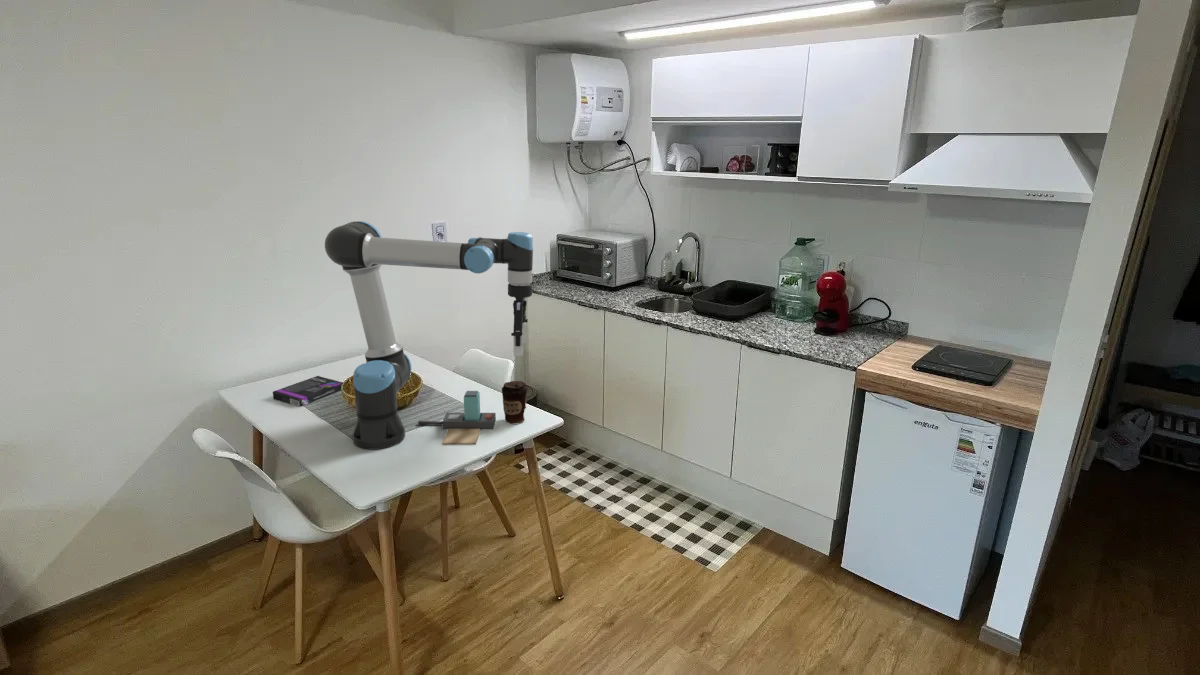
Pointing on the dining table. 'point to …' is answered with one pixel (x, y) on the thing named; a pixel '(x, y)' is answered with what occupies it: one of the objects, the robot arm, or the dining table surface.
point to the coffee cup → (514, 401)
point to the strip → (464, 422)
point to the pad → (462, 436)
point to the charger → (472, 406)
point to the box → (307, 391)
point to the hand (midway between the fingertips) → (519, 348)
